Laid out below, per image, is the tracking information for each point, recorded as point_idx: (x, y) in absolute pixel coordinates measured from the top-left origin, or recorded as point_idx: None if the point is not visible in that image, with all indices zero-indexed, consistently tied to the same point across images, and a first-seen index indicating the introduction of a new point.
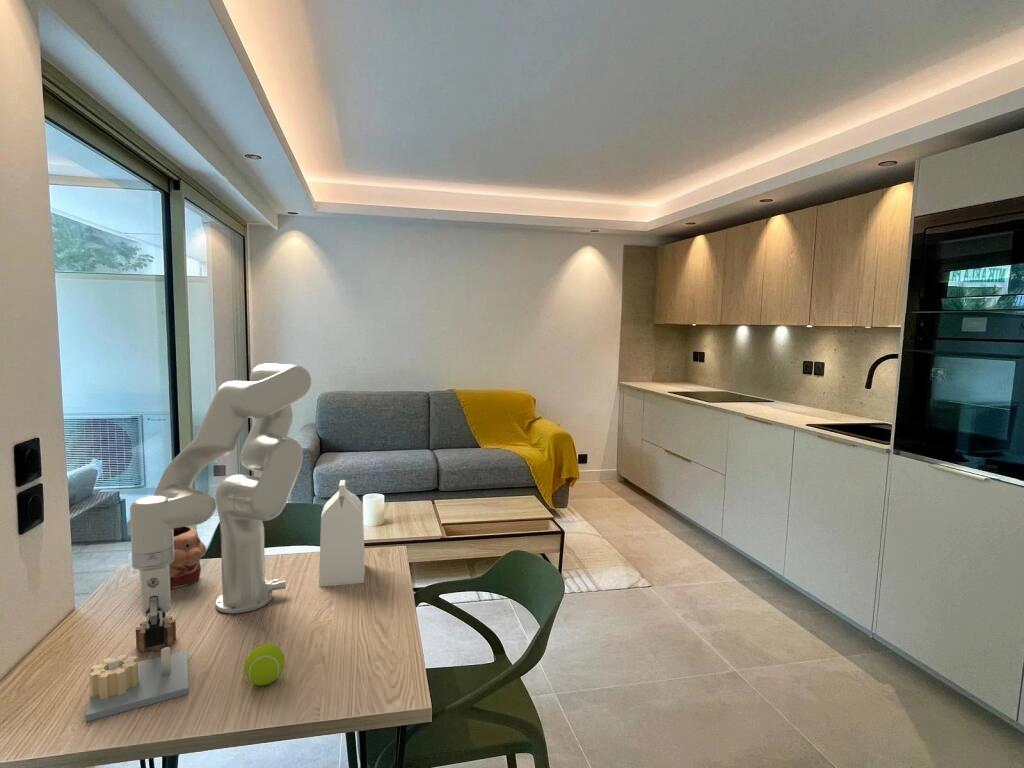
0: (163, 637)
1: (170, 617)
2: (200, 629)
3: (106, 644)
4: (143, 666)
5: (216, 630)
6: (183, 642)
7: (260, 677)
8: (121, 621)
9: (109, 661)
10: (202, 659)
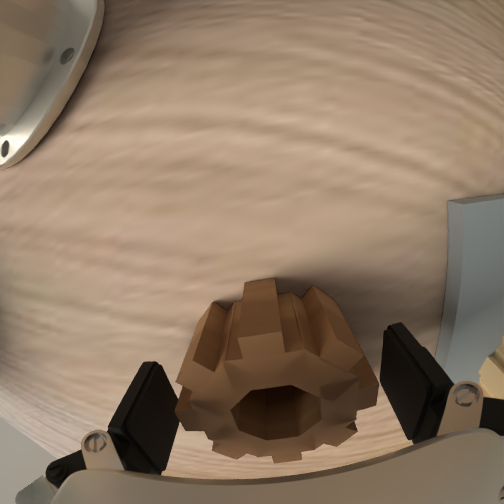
0: (414, 340)
1: (202, 367)
2: (195, 171)
3: None
4: (478, 336)
5: (238, 85)
6: (321, 235)
7: None
8: None
9: None
10: (477, 144)
